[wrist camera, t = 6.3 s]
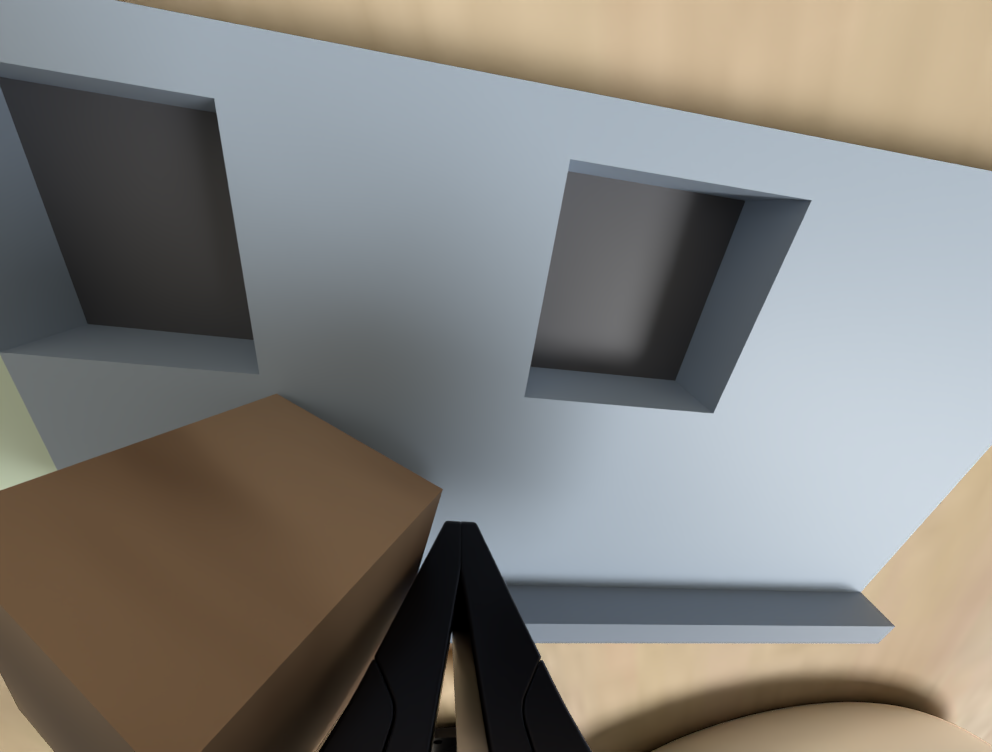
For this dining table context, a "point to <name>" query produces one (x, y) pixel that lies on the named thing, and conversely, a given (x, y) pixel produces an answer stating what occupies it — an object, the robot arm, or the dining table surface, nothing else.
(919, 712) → the bowl
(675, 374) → the light blue slotted tray
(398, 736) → the robot arm
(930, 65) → the dining table surface
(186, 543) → the block
